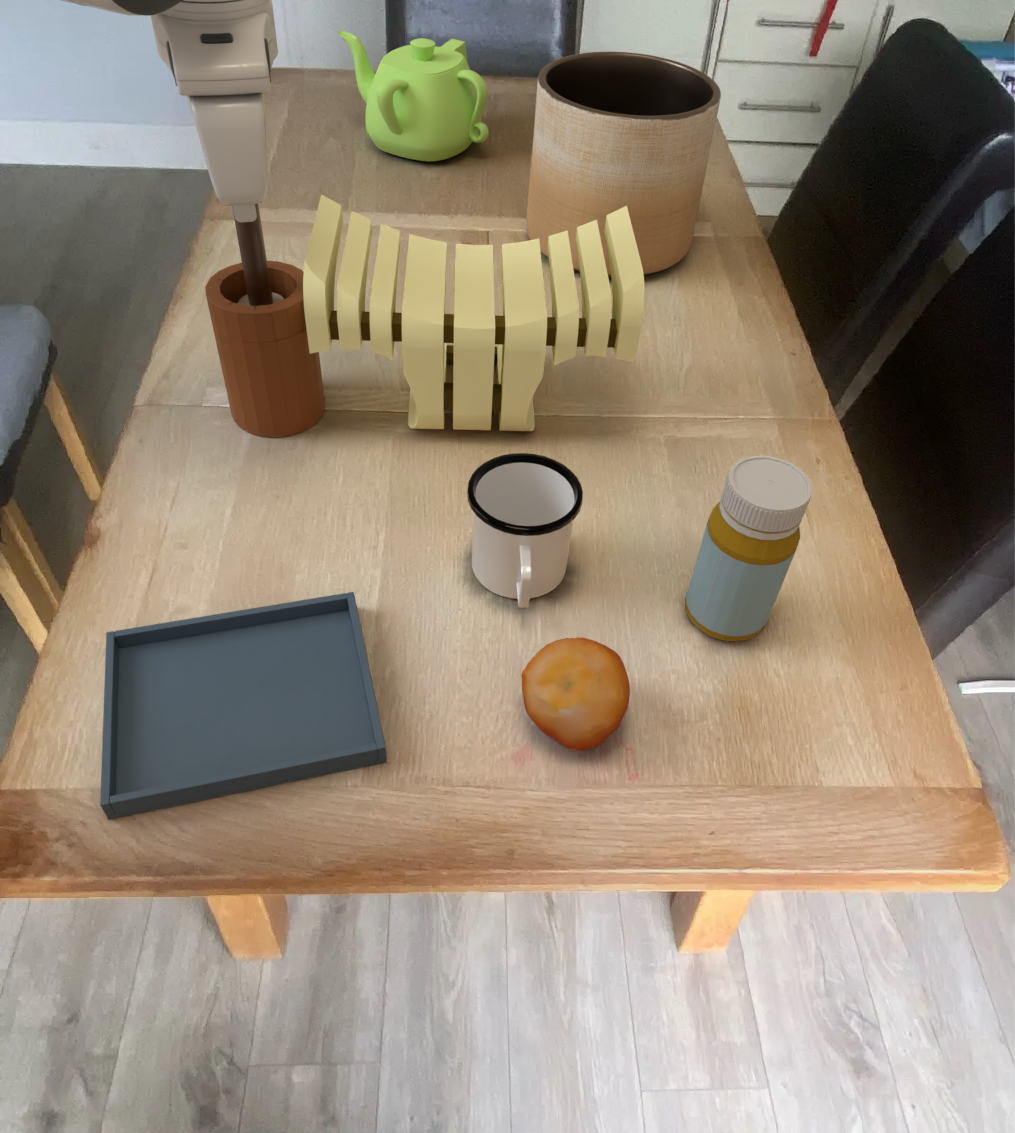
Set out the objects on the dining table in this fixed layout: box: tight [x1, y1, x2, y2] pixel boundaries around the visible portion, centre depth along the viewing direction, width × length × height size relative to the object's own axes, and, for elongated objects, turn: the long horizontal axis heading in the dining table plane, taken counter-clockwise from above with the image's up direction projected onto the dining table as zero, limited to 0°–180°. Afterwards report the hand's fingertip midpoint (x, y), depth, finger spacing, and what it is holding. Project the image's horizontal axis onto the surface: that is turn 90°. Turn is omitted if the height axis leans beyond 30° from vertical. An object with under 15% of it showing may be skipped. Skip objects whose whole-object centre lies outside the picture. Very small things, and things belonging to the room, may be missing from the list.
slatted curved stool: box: [303, 194, 645, 432], centre depth 90 cm, size 30×16×18 cm, turn 92°
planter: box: [526, 51, 722, 278], centre depth 114 cm, size 22×22×20 cm
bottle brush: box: [231, 204, 284, 306], centre depth 81 cm, size 4×4×19 cm
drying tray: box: [99, 591, 388, 820], centre depth 68 cm, size 19×15×2 cm
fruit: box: [521, 636, 631, 751], centre depth 67 cm, size 8×8×8 cm
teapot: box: [337, 30, 489, 162], centre depth 135 cm, size 19×20×14 cm
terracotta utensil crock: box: [204, 260, 326, 438], centre depth 88 cm, size 9×9×14 cm
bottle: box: [684, 454, 813, 642], centre depth 72 cm, size 7×7×15 cm
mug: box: [466, 452, 584, 609], centre depth 76 cm, size 12×10×9 cm
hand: (244, 208), depth 78 cm, fingers closed on bottle brush, 2 cm apart
